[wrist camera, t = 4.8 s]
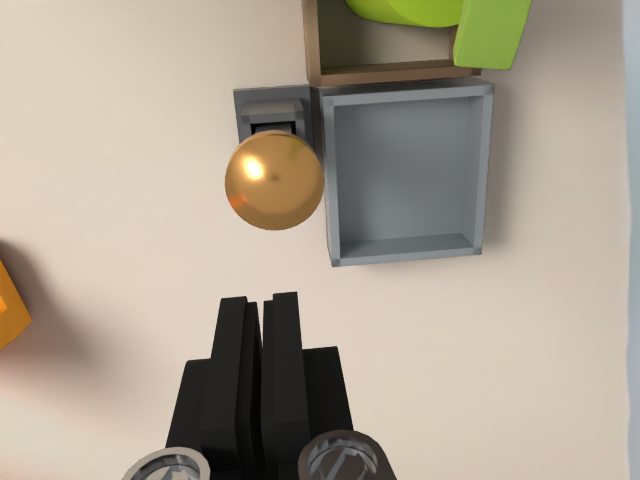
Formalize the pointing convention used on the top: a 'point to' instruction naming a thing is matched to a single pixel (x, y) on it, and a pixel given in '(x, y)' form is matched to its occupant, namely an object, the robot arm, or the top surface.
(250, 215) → the plunger
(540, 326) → the top surface
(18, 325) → the bracket
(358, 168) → the tray
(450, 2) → the soap dispenser
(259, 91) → the plunger collar
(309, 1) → the wooden box
